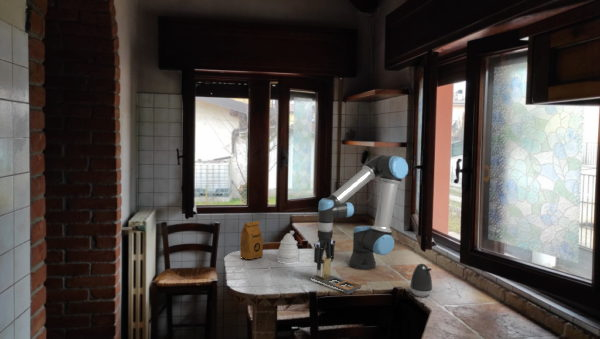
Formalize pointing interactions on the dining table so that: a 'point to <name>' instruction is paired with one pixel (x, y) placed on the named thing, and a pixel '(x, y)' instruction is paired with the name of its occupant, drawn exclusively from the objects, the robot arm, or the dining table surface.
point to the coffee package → (251, 241)
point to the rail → (339, 284)
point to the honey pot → (288, 249)
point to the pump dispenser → (421, 281)
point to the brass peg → (325, 268)
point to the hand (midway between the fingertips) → (323, 274)
